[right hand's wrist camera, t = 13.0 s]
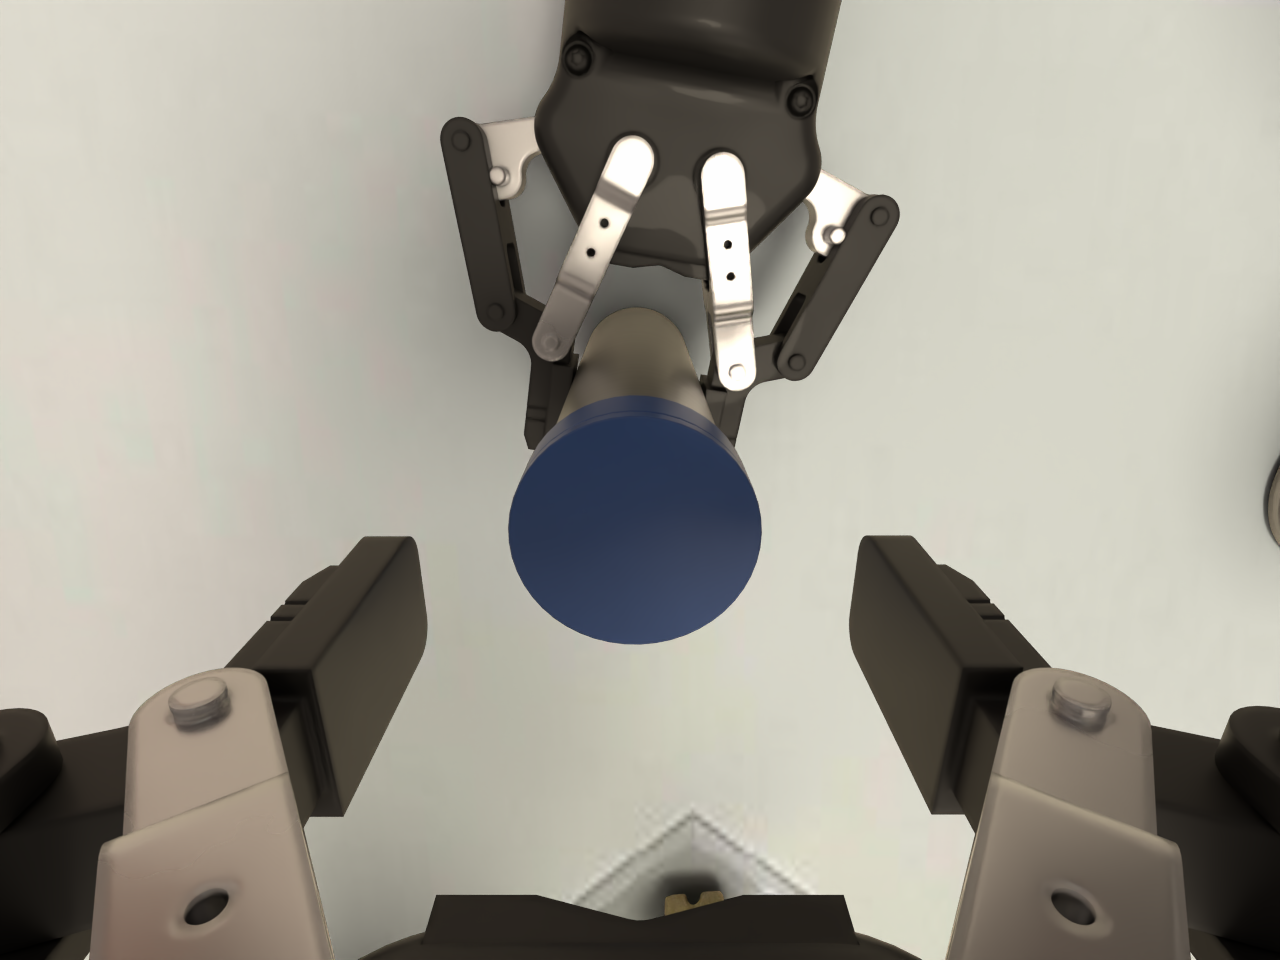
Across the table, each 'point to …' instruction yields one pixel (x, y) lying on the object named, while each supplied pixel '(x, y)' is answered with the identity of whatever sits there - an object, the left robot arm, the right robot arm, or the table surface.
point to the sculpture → (681, 903)
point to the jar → (636, 363)
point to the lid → (635, 521)
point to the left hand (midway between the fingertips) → (624, 470)
